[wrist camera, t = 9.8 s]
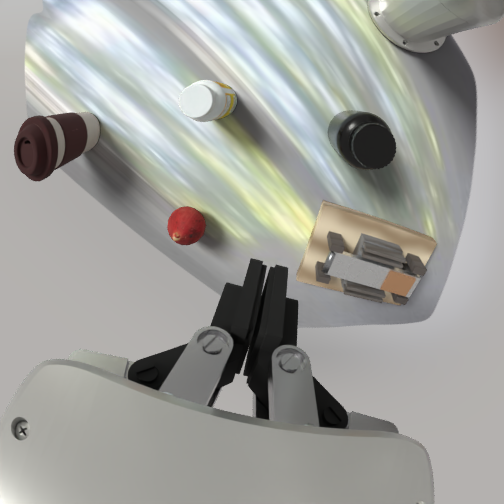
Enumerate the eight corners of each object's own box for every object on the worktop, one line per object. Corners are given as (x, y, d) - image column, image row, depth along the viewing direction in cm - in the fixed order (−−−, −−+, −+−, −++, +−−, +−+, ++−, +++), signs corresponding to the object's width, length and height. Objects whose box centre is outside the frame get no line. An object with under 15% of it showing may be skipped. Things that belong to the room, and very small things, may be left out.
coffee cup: (91, 167, 41) (33, 198, 29) (62, 136, 39) (4, 160, 26) (116, 124, 37) (51, 145, 24) (84, 94, 34) (19, 107, 21)
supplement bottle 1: (244, 107, 34) (227, 110, 26) (211, 124, 36) (186, 133, 28) (226, 76, 31) (205, 69, 23) (194, 94, 33) (165, 94, 25)
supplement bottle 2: (367, 161, 35) (394, 187, 25) (323, 149, 35) (334, 170, 25) (378, 117, 31) (411, 126, 21) (332, 104, 32) (349, 105, 21)
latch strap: (330, 246, 38) (330, 251, 37) (418, 274, 37) (421, 279, 36) (321, 268, 40) (321, 274, 39) (407, 293, 39) (409, 298, 38)
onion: (214, 205, 42) (198, 227, 36) (207, 235, 45) (192, 261, 39) (180, 195, 42) (159, 215, 35) (176, 225, 45) (156, 249, 39)
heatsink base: (322, 200, 39) (326, 217, 34) (432, 237, 39) (447, 257, 34) (296, 273, 47) (296, 296, 42) (397, 298, 46) (405, 321, 41)
